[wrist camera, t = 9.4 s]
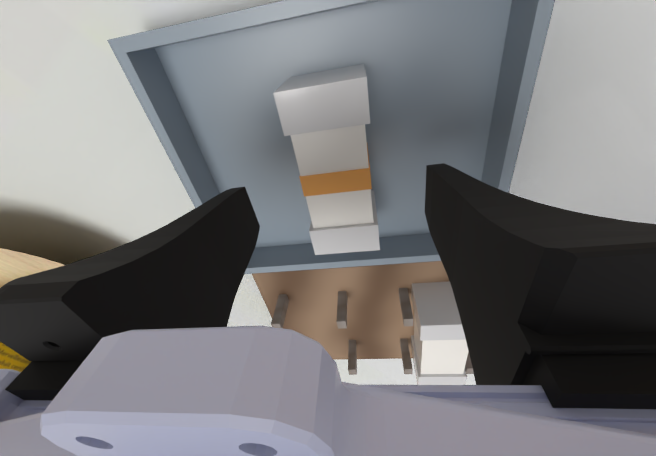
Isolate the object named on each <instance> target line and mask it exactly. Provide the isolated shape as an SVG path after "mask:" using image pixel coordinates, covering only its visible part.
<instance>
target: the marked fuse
mask: <svg viewBox="0 0 656 456" xmlns="http://www.w3.org/2000/svg"><path fill="white" fill-rule="evenodd" d="M273 94H274V98H275V102H276V106H277V110H278V114H279V118H280V121H281V125H282V129H283V133H284V136H289V135H290V136H291V140H292V144H293V148H294V152H295V156H296V160H297V164H298V168H299V172H300V176H299V178H300V182H301V186H302V190H303V194H304V196H305V197H306V201H307V205H308V209H309V213H310V217H311V224H310V229H309V233H310V237H311V241H312V245H313V249H314V253H315V255H322V254H335V253H348V252H362V251H375V250H380V244H379V231H378V220H377V212H376V203H375V195H374V190H371V189H372V186H371V174H370V163H369V154H368V145H367V142H366V130H365V124H370V113H369V100H368V87H367V76H366V71H365V67H364V64H360V65H354V66H349V67H343V68H337V69H332V70H326V71H321V72H315V73H310V74H304V75H299V76H293V77H290V78H288V79H287V80H286V81H285V82H284V83H283V84H282V85H281V86H280V87H279V88H278V89H277V90H276V91H275V92H274V93H273Z"/></svg>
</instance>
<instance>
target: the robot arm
mask: <svg viewBox="0 0 656 456" xmlns="http://www.w3.org/2000/svg"><path fill="white" fill-rule="evenodd" d="M425 216H426V220H427V224H428V228H429V232H430V234H431V237H432V239H433V242H434V244H435V247H436V249H437V252H438V254H439V256H440V259H441V261H442V264H443V266H444V268H445V271H446V273H447V276H448V278H449V281H450V284H451V287H452V290H453V293H454V297H455V301H456V304H457V308H458V311H459V315H460V319H461V323H462V327H463V330H464V334H465V338H466V342H467V347H468V351H469V355H470V359H471V363H472V367H473V372H474V376H475V381H476V385H357V384H351V383H345V382H342V381H341V378H340V375H339V371H338V368H337V364H336V362H335V361H334V360H333V359H332V357H331V356H330V355H329V354H328V352H327V351H326V350H325V349H324V347H323V346H322V345H321V344H320V343H319V342H317V341H315V340H313V339H311V338H309V337H307V336H305V335H302V334H300V333H298V332H296V331H294V330H290V329H283V328H275V327H267V326H239V327H227V323H228V319H229V316H230V312H231V309H232V305H233V302H234V298H235V295H236V293H237V290H238V287H239V285H240V283H241V280H242V278H243V276H244V273H245V271H246V268H247V266H248V264H249V261H250V259H251V256H252V254H253V252H254V249H255V246H256V243H257V239H258V234H259V230H260V225H259V222H258V220H257V217H256V214H255V212H254V209H253V206H252V204H251V201H250V199H249V196H248V193H247V191H246V188H245V187H238V188H231V189H228V190H226V191H224V192H222V193H220V194H218V195H217V196H215V197H213V198H211V199H210V200H208V201H207V202H205V203H203V204H202V205H200V206H198V207H197V208H195V209H193V210H192V211H190V212H188V213H187V214H185V215H183V216H182V217H180V218H178V219H176V220H175V221H173V222H171V223H169V224H168V225H166V226H164V227H162V228H160V229H158V230H156V231H154V232H152V233H150V234H148V235H145V236H143V237H141V238H139V239H137V240H134V241H132V242H129V243H127V244H124V245H122V246H119V247H117V248H114V249H112V250H110V251H107V252H104V253H101V254H98V255H96V256H93V257H90V258H87V259H84V260H80V261H77V262H74V263H71V264H68V265H64V266H61V267H57V268H54V269H50V270H46V271H42V272H39V273H35V274H31V275H28V276H24V277H20V278H17V279H14V280H12V281H10V282H8V283H6V284H5V285H3V286H2V287H1V288H0V342H2V343H3V344H5V345H6V346H8V347H9V348H11V349H12V350H14V351H15V352H17V353H18V354H20V355H21V356H23V357H24V358H26V359H27V360H29V361H31V362H30V363H29V365H28V366H27V367H26V368H25V369H24V370H23V371H22V372H19V371H16V370H12V369H0V456H656V224H647V223H638V222H630V221H623V220H617V219H611V218H605V217H599V216H593V215H588V214H583V213H578V212H573V211H569V210H564V209H560V208H556V207H552V206H548V205H544V204H541V203H537V202H534V201H531V200H528V199H524V198H521V197H518V196H515V195H513V194H510V193H507V192H505V191H502V190H500V189H497V188H495V187H493V186H490V185H488V184H486V183H484V182H482V181H480V180H477V179H475V178H473V177H471V176H469V175H467V174H465V173H464V172H462V171H460V170H458V169H456V168H454V167H452V166H450V165H447V164H444V163H442V164H433V165H426V189H425Z"/></svg>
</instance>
